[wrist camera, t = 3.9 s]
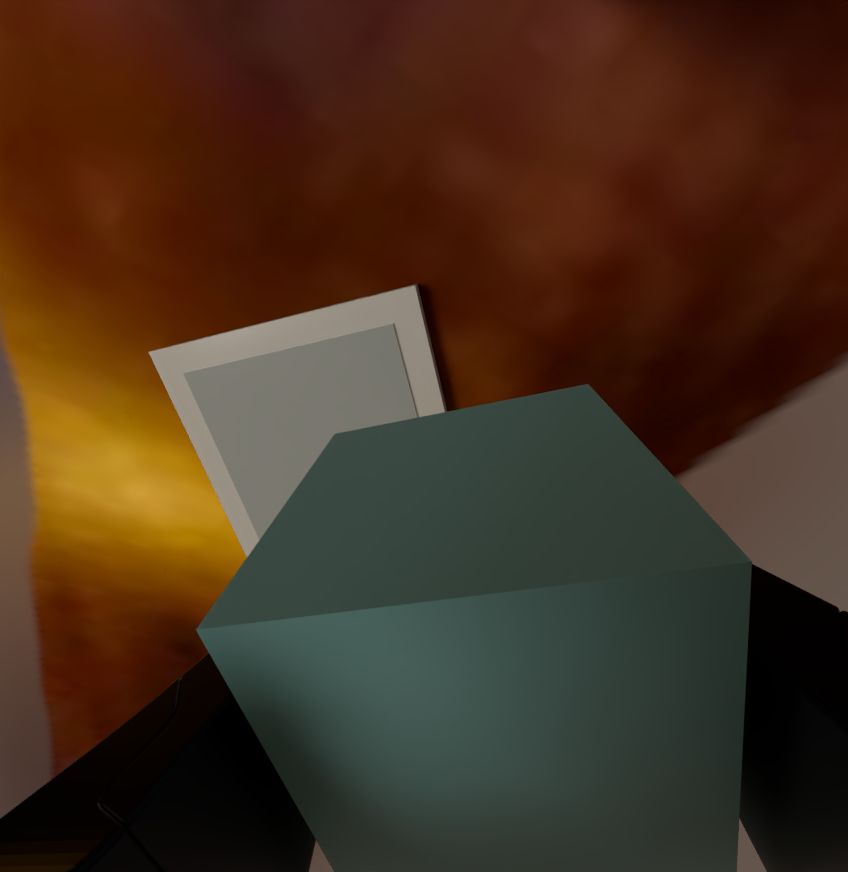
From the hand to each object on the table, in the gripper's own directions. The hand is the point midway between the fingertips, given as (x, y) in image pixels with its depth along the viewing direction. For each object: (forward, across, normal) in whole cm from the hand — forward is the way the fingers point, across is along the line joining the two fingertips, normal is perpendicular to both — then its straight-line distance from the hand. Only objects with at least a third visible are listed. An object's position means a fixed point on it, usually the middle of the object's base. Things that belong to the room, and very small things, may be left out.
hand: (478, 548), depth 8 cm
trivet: (+12, +7, +2) cm, 14 cm away
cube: (+1, 0, 0) cm, 1 cm away
